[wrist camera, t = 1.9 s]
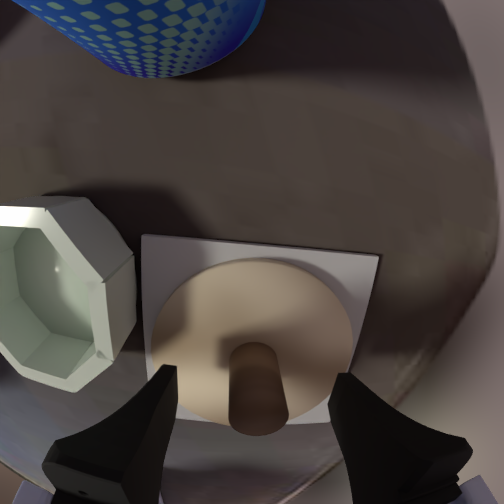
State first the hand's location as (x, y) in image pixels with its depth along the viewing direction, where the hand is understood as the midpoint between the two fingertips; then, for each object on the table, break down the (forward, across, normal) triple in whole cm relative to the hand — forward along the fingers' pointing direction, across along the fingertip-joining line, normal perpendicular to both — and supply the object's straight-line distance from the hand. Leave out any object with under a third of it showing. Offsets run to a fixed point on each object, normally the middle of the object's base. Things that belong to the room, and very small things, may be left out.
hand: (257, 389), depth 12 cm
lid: (+3, 0, 0) cm, 3 cm away
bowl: (+3, +10, -3) cm, 11 cm away
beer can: (+4, +6, -17) cm, 18 cm away
